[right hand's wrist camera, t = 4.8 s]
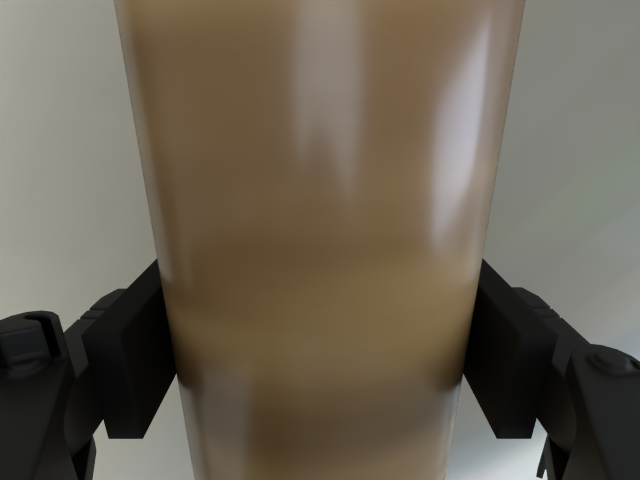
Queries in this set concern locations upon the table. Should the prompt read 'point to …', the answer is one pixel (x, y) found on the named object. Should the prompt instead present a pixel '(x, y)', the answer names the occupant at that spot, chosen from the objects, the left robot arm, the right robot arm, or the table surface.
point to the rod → (319, 220)
